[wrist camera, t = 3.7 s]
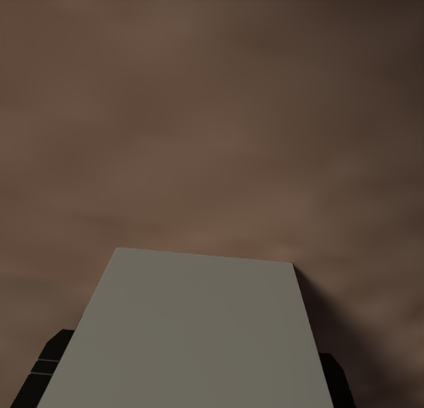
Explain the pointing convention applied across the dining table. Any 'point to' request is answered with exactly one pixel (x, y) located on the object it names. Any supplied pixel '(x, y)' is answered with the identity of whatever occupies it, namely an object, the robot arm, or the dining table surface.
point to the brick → (191, 337)
